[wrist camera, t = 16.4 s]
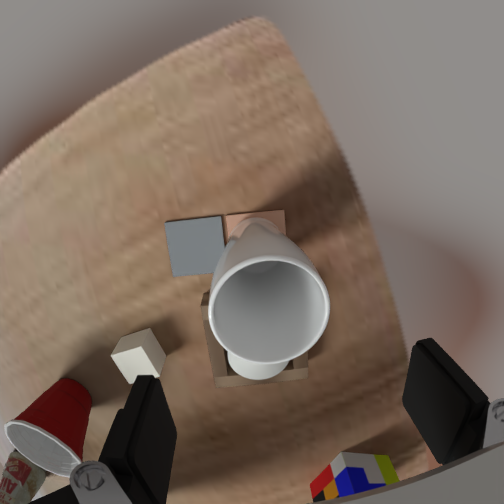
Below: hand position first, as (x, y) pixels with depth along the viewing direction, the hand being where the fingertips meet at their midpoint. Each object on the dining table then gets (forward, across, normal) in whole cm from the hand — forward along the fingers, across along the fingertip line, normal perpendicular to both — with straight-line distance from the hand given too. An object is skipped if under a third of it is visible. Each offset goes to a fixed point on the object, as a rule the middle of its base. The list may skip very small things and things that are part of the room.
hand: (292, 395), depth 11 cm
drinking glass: (+22, 0, 0) cm, 22 cm away
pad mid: (+22, +6, 0) cm, 23 cm away
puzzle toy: (+22, -12, +41) cm, 48 cm away
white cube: (+22, +14, +11) cm, 28 cm away
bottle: (+23, +50, +41) cm, 68 cm away
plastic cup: (+22, +27, +19) cm, 40 cm away
